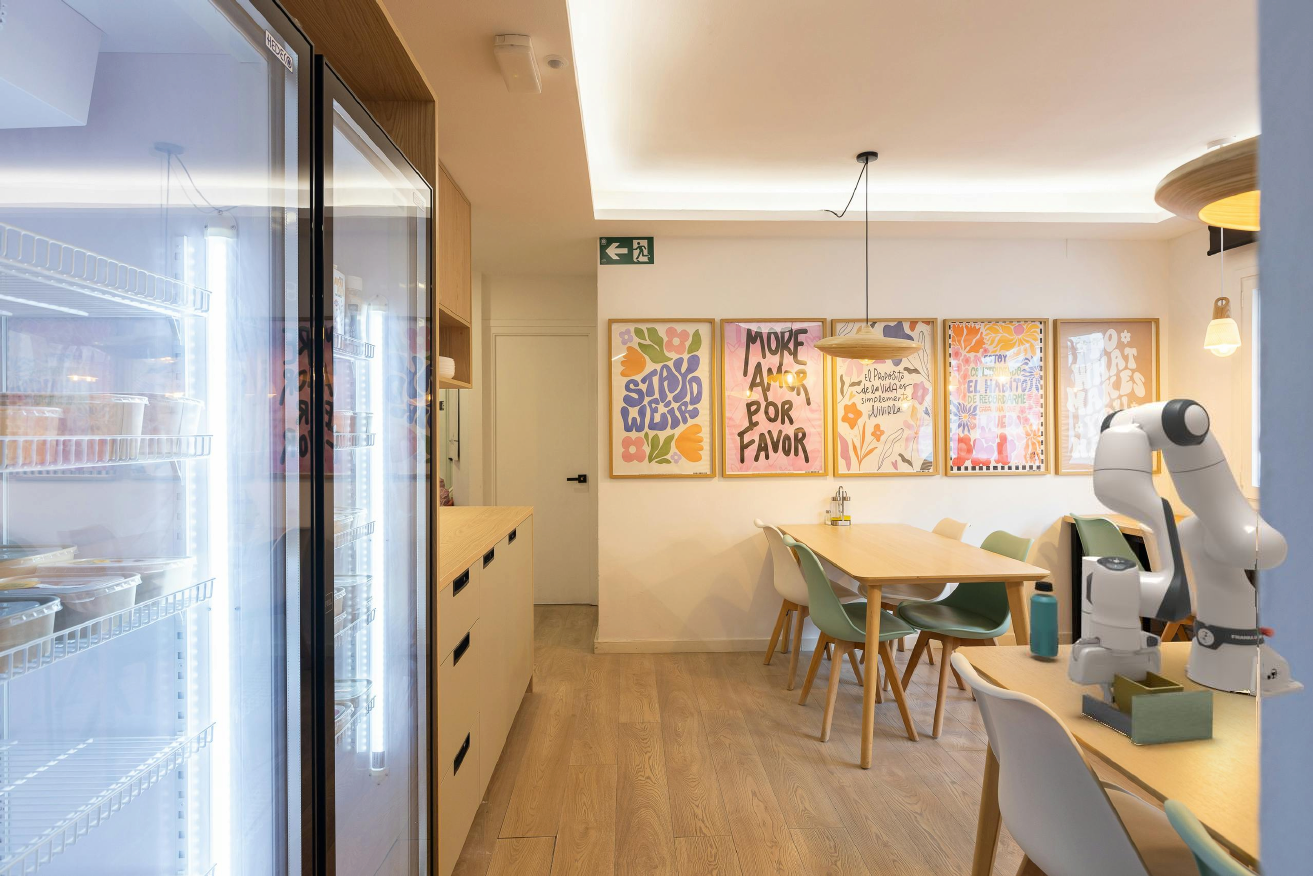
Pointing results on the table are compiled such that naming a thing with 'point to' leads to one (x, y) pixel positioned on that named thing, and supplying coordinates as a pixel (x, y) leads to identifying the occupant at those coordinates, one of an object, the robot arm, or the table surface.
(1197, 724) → the bracket
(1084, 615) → the cylindrical container
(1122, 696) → the flower pot
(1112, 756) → the table surface
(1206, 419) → the robot arm
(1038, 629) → the beverage bottle
